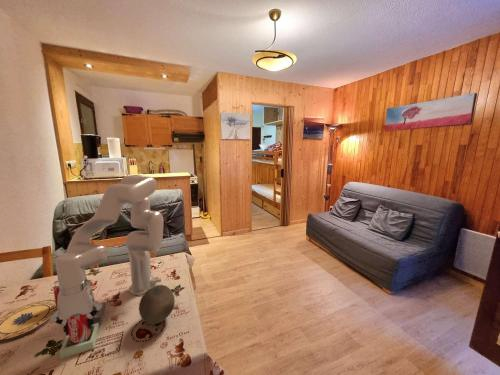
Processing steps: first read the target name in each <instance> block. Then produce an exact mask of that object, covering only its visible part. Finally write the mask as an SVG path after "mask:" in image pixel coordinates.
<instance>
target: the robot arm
mask: <svg viewBox="0 0 500 375" xmlns="http://www.w3.org/2000/svg"><path fill="white" fill-rule="evenodd" d="M157 186H158V183H157V180H156V179H155V178H153V177H151V176H142V175H140V176H139V175H127V176H123V177H122V178H121V180H120V183H114V184H111V185H108V187H107V188H106V189H105V191H104V192H103V193H104V194H103V195H102V198H101V200H100V203H98V204H99V205H98V207H97V209H96V211H95V213H94V215H93V216H92V217H91V218H90V219H88V220H87V221H85V222H84V223H83V225H81V226H80V227H79V228H78V229H77V230H76V231H75V232H74V234H73V235H72V238H71V239H70V242H69V244H68V246H67V249H66V252H65V253H63V254H61V255H59V256H58V257H56V259H55V270H56V275H57V282H58V283H59V289H60V292H59V294H58V300H57V307H56V308H57V310H56V311H54V313H53V314H52V315H51V316H50V318H49V321H51V322H54V323H56V324H58V325H61V327H62V328H63V333H65V336H67V335H69V332H68V324H67V319H68V318H70V317H71V316H76V315H79V314H82V315H84V314H86V316H87V317H88V328H89V329H91V328H92V325H93V324H94V317H95V316H96V314H98V313H99V310H100V309H101V308H102V305H103V304H101V303H102V302H99V301H96V300H95V296H94V291H93V288H92V286H91V284H92V279H88V278H87V276H86V269H89V268H92V267H94V266H97V265H99V264H101V263H103V262H104V261H105V260H106V259H107V258H108V255H109V250H108V248H107V247H106V246H105V245H102V244H96V243H89V242H90V240H91V238H92V237H93V236H94V235H95V234H96V233H97V232H98V231H100V230H102V229H104V228H106V227H108V226H112V225H114V224H116V223H117V221H118V220H119V217H120V215H121V213H122V210H123V208H124V206H125V204H126V205H131V209H130V210H131V211H130V225H131V227H132V228H135V229H140V230H134V231H131V232H129V233H128V234H127V235H126V237H125V247H126V249H127V252H128V257H129V258H128V259H129V268H130V275H131V276H130V277H131V284H130V285H129V288H128V292H129V294H131V295H133V296H141V295H142V296H143V295H144V293H145V292H146V291H147V290H149V289H150V288H152V287H154V286H156V283H157V284H158V283H160V282H162V278H161V277H159V276H153V274H152V264H151V262H152V261H151V252H153V253H154V252H157V251H159V250H160V249H161V247H162V244H163V238H164V237H163V236H164V217H163V214H162V212H159V211H157V210H151V198H150V196H151V195H153V193H155V192H156V190H157ZM146 230H147V231H146ZM93 306H95V307H96V308H95V309H94V310H93Z"/></svg>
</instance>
